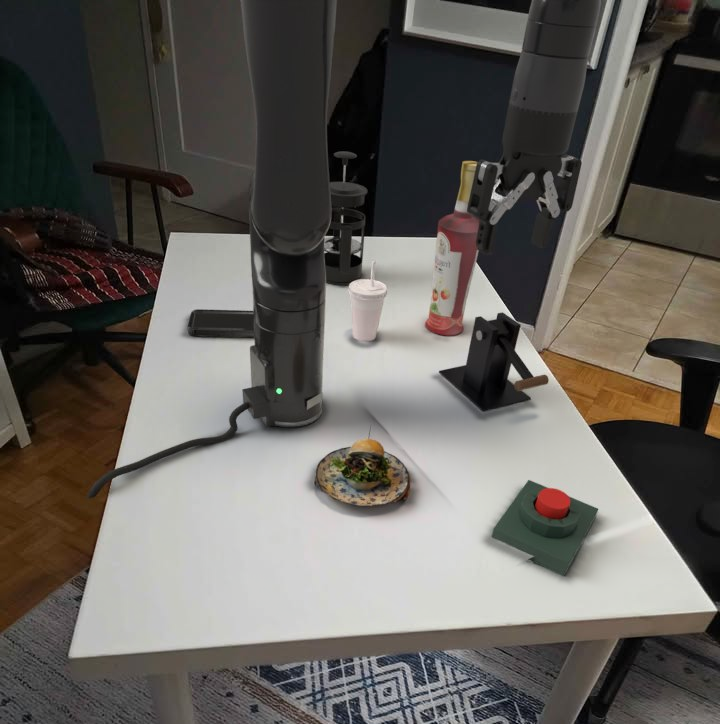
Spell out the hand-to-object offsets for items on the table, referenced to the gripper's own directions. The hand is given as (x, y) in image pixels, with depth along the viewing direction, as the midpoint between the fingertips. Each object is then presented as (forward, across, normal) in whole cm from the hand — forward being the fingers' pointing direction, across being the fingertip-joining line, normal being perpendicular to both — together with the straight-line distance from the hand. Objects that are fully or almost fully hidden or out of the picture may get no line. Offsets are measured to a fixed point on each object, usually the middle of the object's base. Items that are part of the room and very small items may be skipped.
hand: (511, 249), depth 81 cm
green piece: (+24, -8, -25) cm, 36 cm away
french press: (+24, +2, +51) cm, 57 cm away
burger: (+24, -24, -9) cm, 35 cm away
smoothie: (+24, -6, +25) cm, 35 cm away
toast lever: (+17, +4, 0) cm, 17 cm away
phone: (+24, -25, +37) cm, 51 cm away
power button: (+21, -8, -25) cm, 33 cm away
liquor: (+24, +9, +23) cm, 35 cm away
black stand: (+24, +4, +4) cm, 25 cm away
